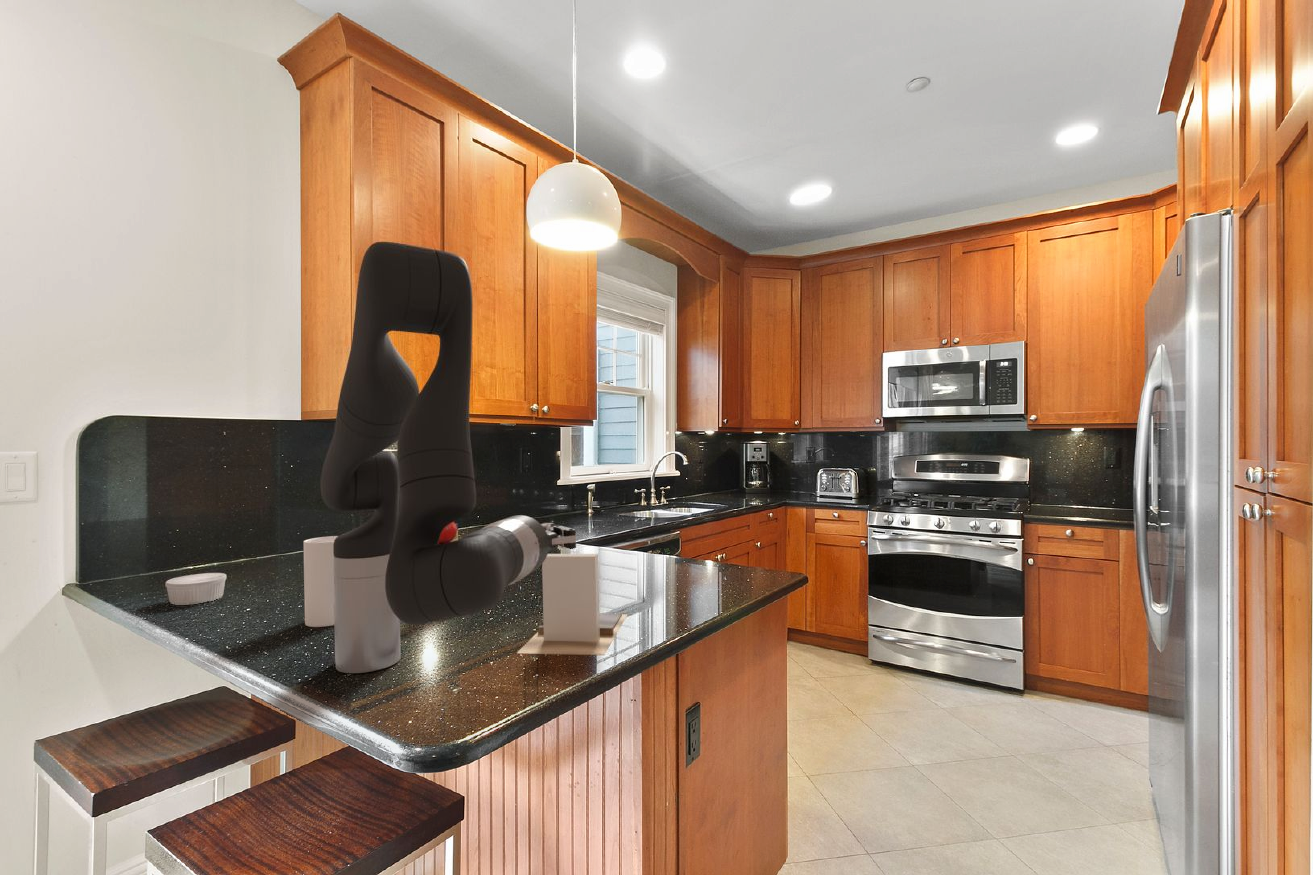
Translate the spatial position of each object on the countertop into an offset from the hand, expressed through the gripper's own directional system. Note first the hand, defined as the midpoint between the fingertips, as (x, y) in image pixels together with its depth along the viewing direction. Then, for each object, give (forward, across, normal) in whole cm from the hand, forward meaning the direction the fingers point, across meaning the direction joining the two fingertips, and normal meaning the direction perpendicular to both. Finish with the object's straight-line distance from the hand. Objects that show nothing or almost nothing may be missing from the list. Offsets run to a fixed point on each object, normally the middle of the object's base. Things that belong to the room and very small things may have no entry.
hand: (549, 529), depth 91 cm
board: (+15, 0, +21) cm, 26 cm away
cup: (+23, +52, +21) cm, 61 cm away
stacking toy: (+31, +32, +21) cm, 49 cm away
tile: (+12, 0, +20) cm, 23 cm away
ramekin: (+37, +94, +20) cm, 103 cm away
